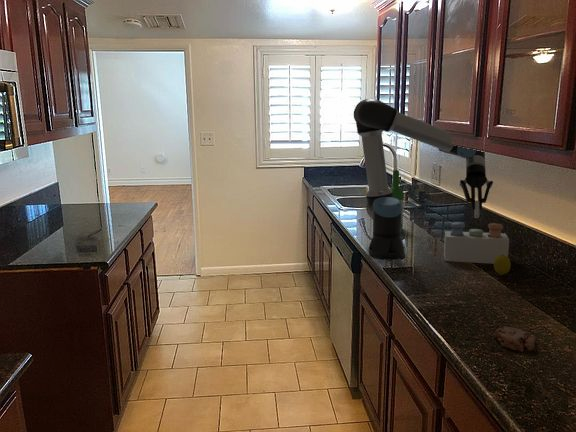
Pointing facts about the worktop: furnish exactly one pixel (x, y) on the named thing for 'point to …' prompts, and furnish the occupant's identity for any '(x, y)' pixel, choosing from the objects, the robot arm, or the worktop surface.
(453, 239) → the console
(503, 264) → the lemon
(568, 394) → the worktop surface
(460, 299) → the worktop surface
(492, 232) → the button terracotta
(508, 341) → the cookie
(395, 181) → the wine bottle
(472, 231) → the button green
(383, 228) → the robot arm
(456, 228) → the button blue
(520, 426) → the worktop surface
